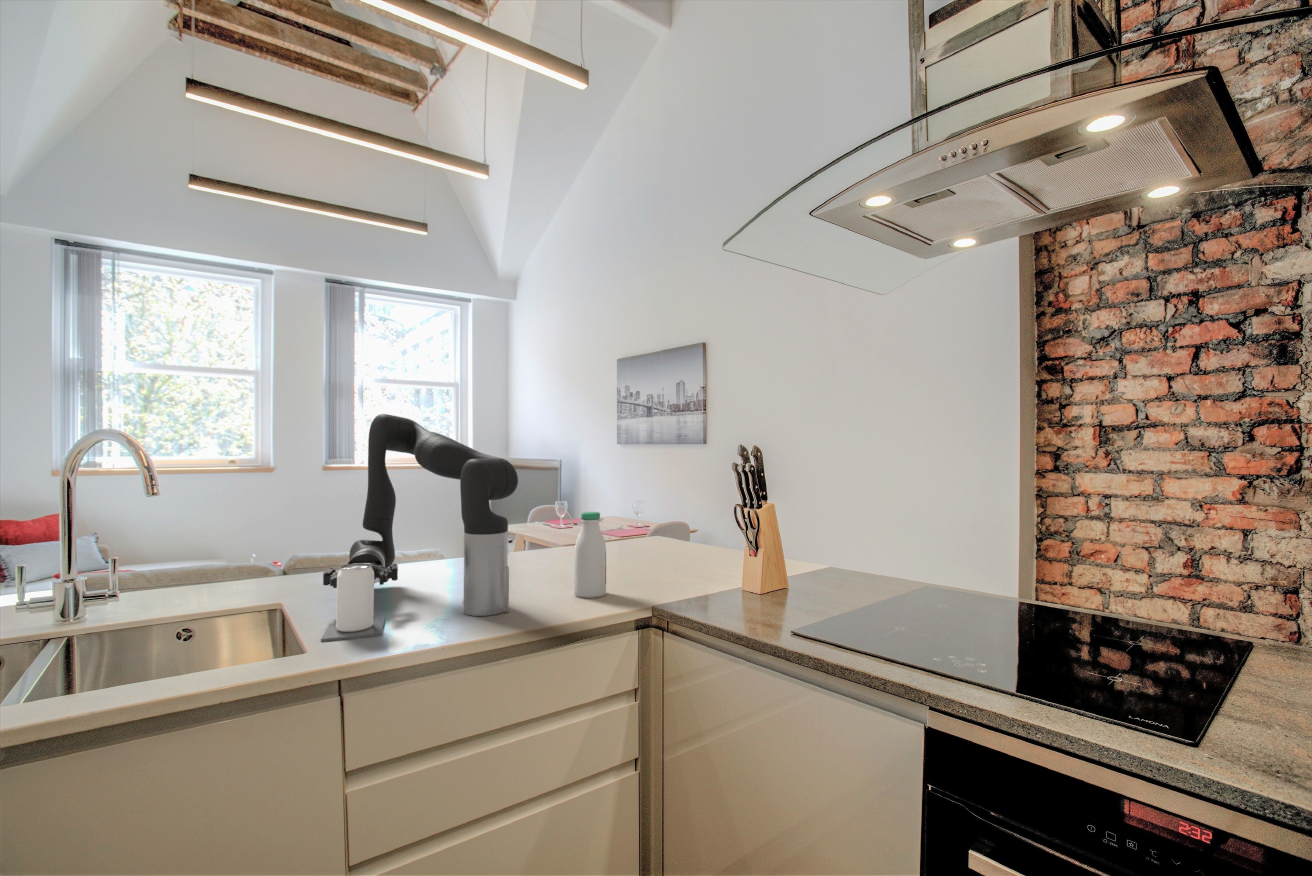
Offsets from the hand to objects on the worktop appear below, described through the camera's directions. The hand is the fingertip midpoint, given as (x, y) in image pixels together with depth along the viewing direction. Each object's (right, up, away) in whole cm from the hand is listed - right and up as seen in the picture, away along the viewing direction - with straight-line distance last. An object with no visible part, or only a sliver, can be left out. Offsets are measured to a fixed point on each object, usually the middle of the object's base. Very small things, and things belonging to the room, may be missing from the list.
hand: (358, 581), depth 121 cm
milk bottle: (+45, -9, +23) cm, 51 cm away
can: (+2, -8, -6) cm, 10 cm away
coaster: (+2, -8, -6) cm, 10 cm away
